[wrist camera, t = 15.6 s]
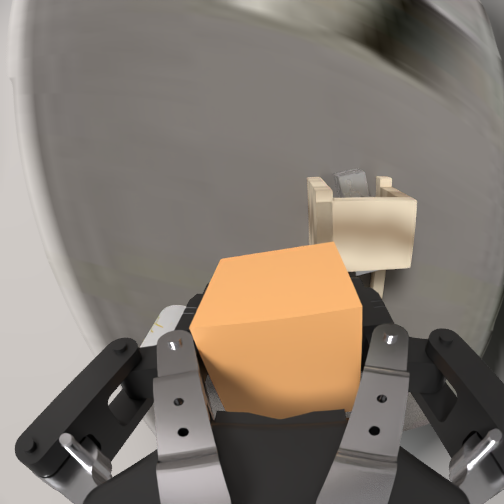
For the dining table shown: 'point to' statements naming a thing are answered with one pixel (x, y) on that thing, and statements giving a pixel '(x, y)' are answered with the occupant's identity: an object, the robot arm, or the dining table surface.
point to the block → (282, 332)
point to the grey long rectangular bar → (352, 189)
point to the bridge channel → (364, 227)
